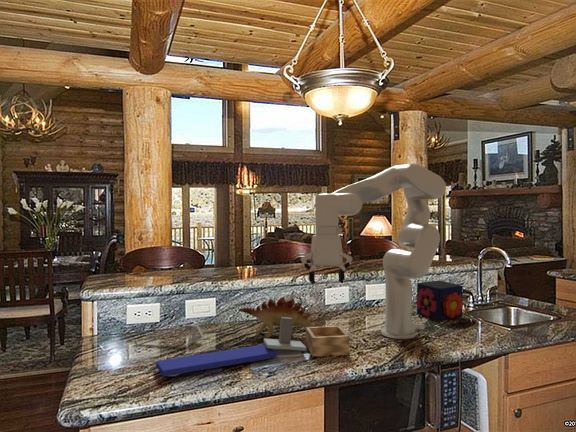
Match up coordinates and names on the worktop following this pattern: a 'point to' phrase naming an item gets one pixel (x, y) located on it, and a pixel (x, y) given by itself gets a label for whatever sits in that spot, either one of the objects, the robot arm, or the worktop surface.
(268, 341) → the lid
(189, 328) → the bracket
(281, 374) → the worktop surface
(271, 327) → the toy
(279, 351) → the mat
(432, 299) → the decorative cube
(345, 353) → the pine box
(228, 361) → the long blue plank
